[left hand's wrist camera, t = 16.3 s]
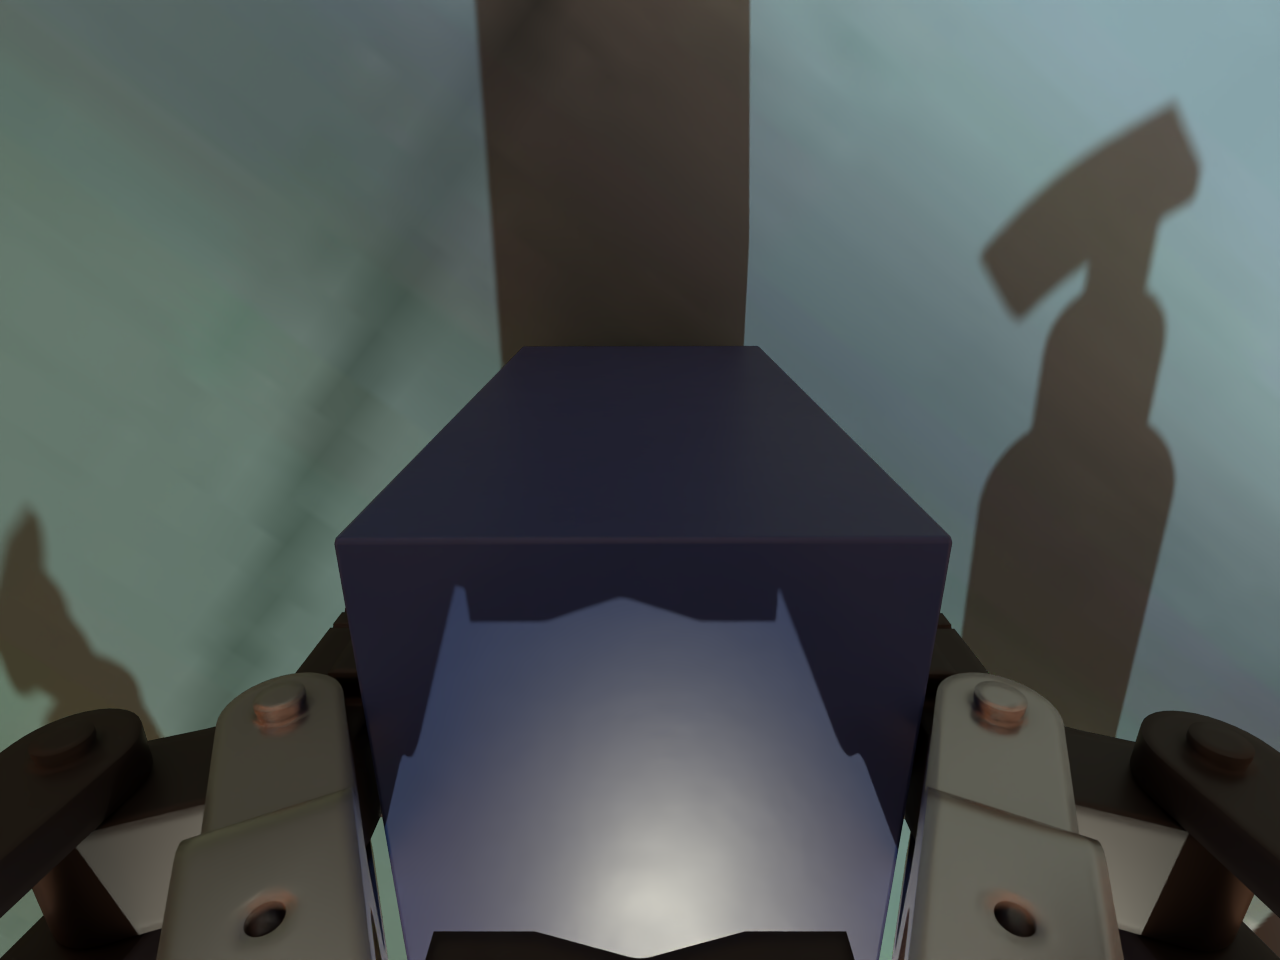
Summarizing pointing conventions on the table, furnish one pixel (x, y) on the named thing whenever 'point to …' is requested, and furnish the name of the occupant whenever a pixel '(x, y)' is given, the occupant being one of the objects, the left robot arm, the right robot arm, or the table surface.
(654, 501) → the box
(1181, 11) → the table surface
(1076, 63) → the table surface
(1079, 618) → the table surface
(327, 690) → the left robot arm
